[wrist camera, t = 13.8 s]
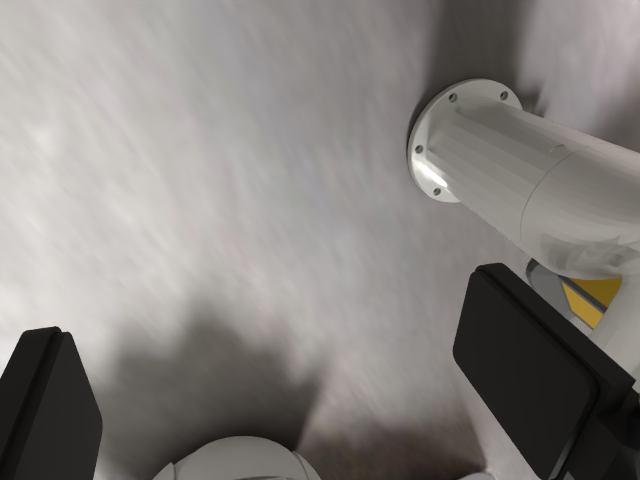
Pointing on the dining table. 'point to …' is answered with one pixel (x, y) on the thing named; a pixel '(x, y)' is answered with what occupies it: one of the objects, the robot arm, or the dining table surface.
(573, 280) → the lantern
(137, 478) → the dining table surface
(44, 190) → the dining table surface
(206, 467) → the decorative bowl
